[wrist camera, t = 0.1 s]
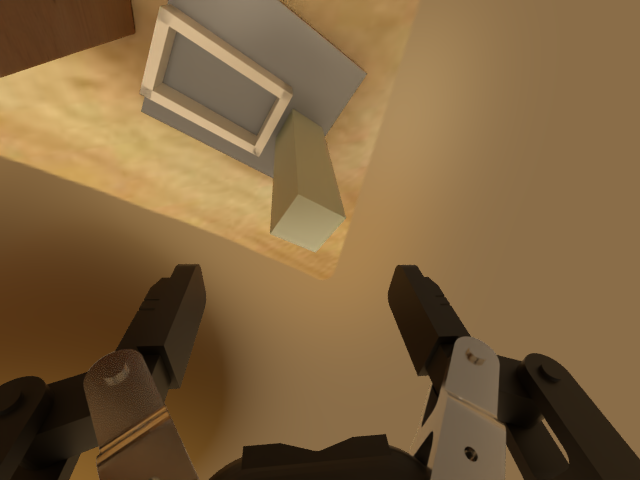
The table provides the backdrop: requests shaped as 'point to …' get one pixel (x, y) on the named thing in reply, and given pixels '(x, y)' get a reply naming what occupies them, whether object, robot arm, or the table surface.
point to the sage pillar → (304, 185)
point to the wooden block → (57, 29)
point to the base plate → (242, 75)
